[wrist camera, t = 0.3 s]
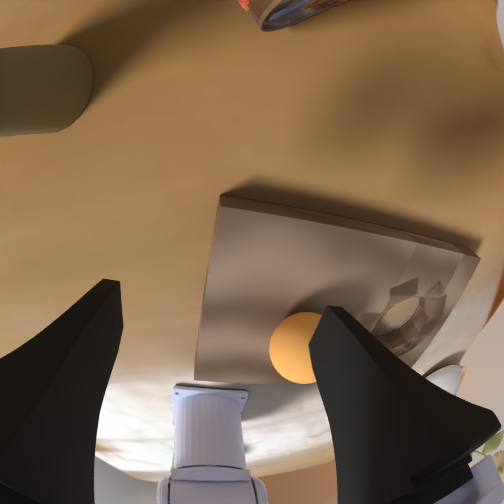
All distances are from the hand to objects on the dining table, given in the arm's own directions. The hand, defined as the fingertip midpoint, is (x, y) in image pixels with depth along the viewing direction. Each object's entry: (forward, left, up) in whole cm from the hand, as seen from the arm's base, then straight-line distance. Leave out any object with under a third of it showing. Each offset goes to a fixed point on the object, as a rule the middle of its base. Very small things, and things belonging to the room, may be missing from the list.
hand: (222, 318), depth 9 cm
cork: (+7, +12, -10) cm, 17 cm away
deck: (-7, -12, -10) cm, 17 cm away
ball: (-7, -7, -5) cm, 11 cm away
